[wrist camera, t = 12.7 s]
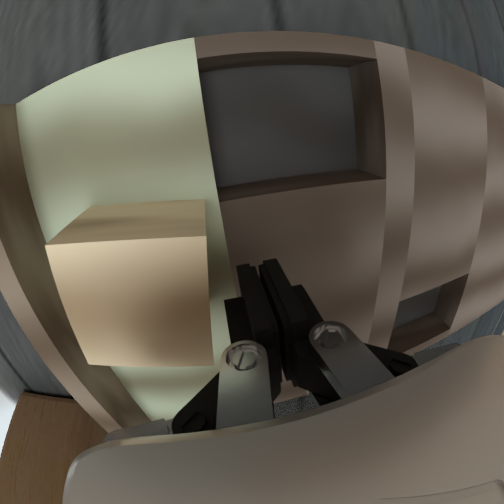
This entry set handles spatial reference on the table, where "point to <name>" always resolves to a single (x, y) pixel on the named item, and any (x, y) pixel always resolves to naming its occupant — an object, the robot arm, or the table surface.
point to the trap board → (264, 190)
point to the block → (44, 448)
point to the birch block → (137, 283)
